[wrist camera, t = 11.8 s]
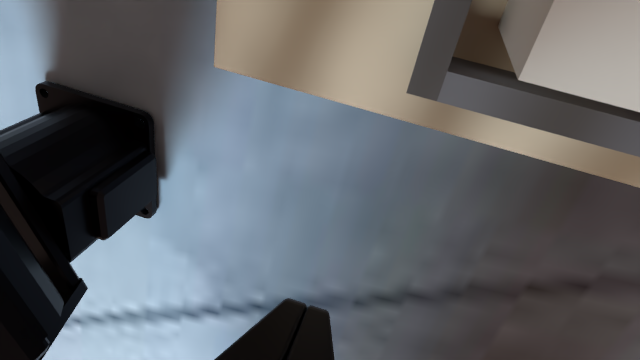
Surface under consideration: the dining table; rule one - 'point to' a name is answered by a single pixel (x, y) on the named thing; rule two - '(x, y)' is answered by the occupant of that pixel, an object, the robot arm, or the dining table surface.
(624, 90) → the plug
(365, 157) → the dining table surface
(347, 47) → the header board
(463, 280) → the dining table surface
